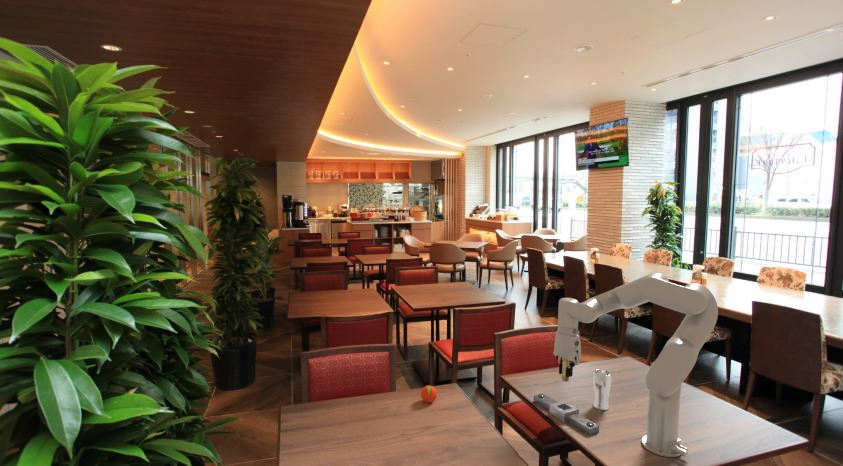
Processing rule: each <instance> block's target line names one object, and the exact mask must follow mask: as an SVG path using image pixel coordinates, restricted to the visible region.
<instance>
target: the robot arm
mask: <svg viewBox="0 0 843 466" xmlns="http://www.w3.org/2000/svg"><path fill="white" fill-rule="evenodd" d="M649 302H650V303H653V304H654V305H658V306H661V307H663V308H667V309H669V310H672V311H675V312H679V313H682V314H685V316H684V318H683V320H682V321H681V322H680V325H679V326H678V328H677V329H676V330H675V332H674V334H673V335H672V336H671V337H670V338H669V339H668V340H667V341H666V343H665V345H664V346H663V348H662V350H661V352H660V353H659V354H658V356H657V358H656V359H655V360H654V361H653V362H652V363H651V364H650V367H649V368H648V370H647V373H646V375H645V381H644V382H645V385H646V388H647V389H648V401H647V402H648V403H647V404H648V405H647V422H646V423H647V425H646V426H647V427H646V434H645V435H643V436H642V438H641V445H642V446H643V448H645V449H646V450H647V451H649V452H650V453H652V454H655V455H657V456H662V457H667V458H675V457H680V456H682V457H684V458H687V457H688V455H689V454H688V451H689V448H688V447H686V446H684V445H682V444H681V443H682V439H680V438H679V426H680V425H679V422H680V407H681V406H680V405H681V394H682V393H681V392H682V384H683V382H684V381H685V380H686V379H687V377H688V375H689V374H690V372H691V371H692V370H693V368H694V366H695V365H696V362H697V360H698V355H699V354H700V353H699V352H700V351H701V349H702V348H703V346H704V344H705V343H706V341H707V340H708V338H709V337H710V335H711V333H712V331H713V330H714V328H715V326H716V324H717V322H718V317H719V306H718V302H717V300H716V297H715V296H714V294H713V293H712V292H711V290H710V289H709V288H708V287H707V286H705V285H703V284H702V283H697V282H692V283H688V284H686V285H680V284H676V283H673V282H671V281H670V280H669V278H668V277H667V276H666V275H665V274H662V273H660V272H653V273H649V274H647V275H644V276H642V277H639V278H637V279H635V280H632V281H630V282H627V283H624V284H622V285H620V286H617V287H615V288H613V289H610V290H608V291H606V292H603V293H600V294H598V295H595V296H593V297H591V298H587V300H584V301H583V302H582V301H581V302H579V300H577V299H576V298H572V297H562V298H560V299H559V300H558V308H557V309H558V310H557V311H558V313H557V330H556V333H555V336H554V344H553V352H552V354H553V355H554V356H555V357H556V360H557V364H558V374H559V375H562V358H564V359H566V360H567V367H566V377H567V378H568V377H569V378H571V377H573V375H574V374H573V371H574V368H575V367H576V366H579V365H581V361H580V360H581V359H582V347H581V346H582V345H581V344H582V343H581V338H580V331H579V322H580V323H584V324H590V323H593V322H594V321H596V320H597V319H598V318H599V317H600V316H602V315H606V314H608V313H610V312H613V311H614V312H615V311H617V310H621V309H624V310H629V309H633V308H636V307H638V306H641V305H643V304H646V303H649Z"/></svg>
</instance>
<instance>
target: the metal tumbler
mask: <svg viewBox="0 0 843 466" xmlns="http://www.w3.org/2000/svg"><path fill="white" fill-rule="evenodd" d="M592 387H593V394H594V400H593V404H592V406H593V408H595V409H597V410H599V411H608V410H609V409H610V405H609V396H610V393H611V389H612V373H611V371H609V370H605V369H601V368H597V369H594V370H593V377H592Z"/></svg>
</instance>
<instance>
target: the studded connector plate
mask: <svg viewBox="0 0 843 466" xmlns="http://www.w3.org/2000/svg"><path fill="white" fill-rule="evenodd" d="M533 402H535V403H536V404H538V405H539V406H541V407H542V408H544V409H546V410H547V411H549V414H550V415H552V416H553V417H555V418H556V419H557V420H559V421H561V422H563V423H566V422H567V423H568V424H570V425H572V426H573V425H574V427H576V428H577V429H578V430H580V431H582V433H585V434H586V433H587V434H586V435H589V436H591V435H595V434H597V433H600V425H598V424H597V423H595V422H593V421H592V420H590V419H588V418H586V417H585V416H583V415H581V414H580V408H579V407H576V406H575V405H573V404H571V403H570V402H568V401H566V400H562V401H557V400H555V399H553V398H552V397H550V396H549V395H547V394H545V393H539V394H536V395H533Z"/></svg>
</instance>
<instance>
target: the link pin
mask: <svg viewBox="0 0 843 466" xmlns="http://www.w3.org/2000/svg"><path fill="white" fill-rule="evenodd" d="M566 367H567V360H566V359H564V358H562V374H561V381H562V382H570V377H568V378H567V377H566Z"/></svg>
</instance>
